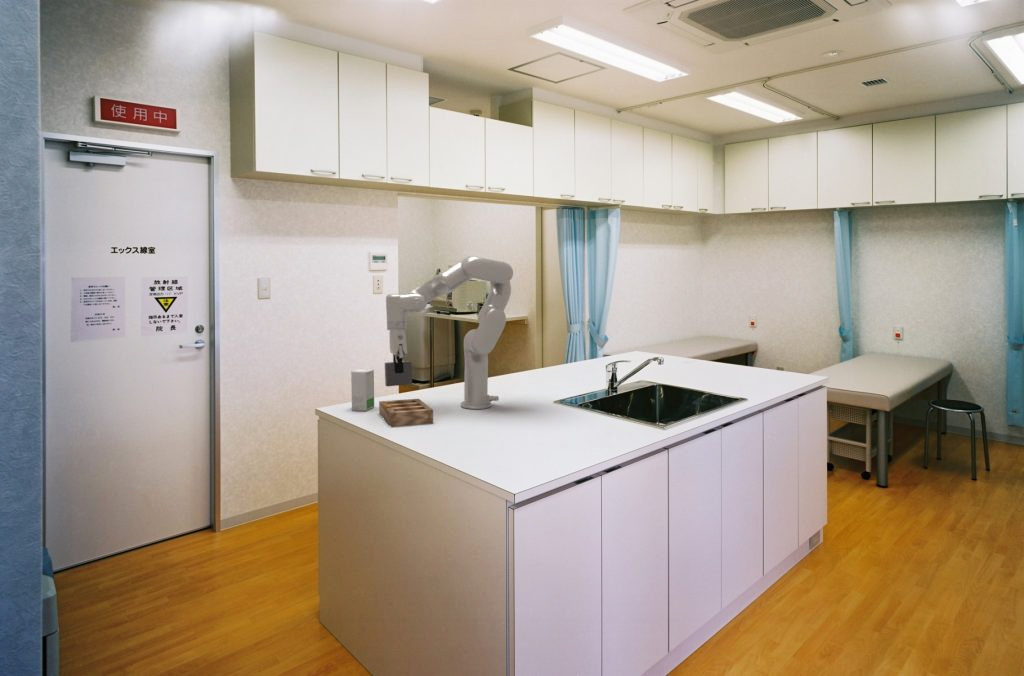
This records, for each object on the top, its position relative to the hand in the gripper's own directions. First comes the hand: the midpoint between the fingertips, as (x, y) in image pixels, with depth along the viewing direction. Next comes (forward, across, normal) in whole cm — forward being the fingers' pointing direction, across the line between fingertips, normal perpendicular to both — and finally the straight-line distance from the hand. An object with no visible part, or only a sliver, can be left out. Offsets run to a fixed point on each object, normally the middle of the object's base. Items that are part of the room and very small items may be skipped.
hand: (398, 371), depth 240 cm
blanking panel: (+5, 0, 0) cm, 5 cm away
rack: (+15, -14, +1) cm, 21 cm away
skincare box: (+15, +7, +13) cm, 21 cm away
